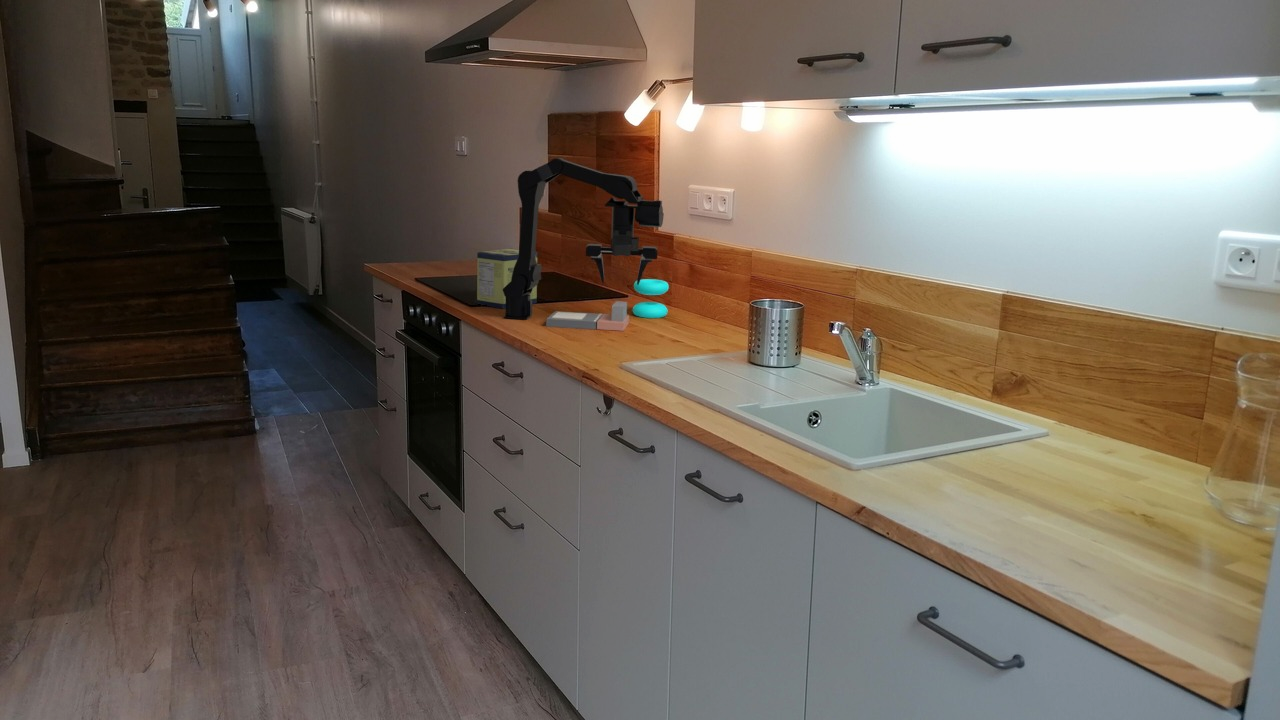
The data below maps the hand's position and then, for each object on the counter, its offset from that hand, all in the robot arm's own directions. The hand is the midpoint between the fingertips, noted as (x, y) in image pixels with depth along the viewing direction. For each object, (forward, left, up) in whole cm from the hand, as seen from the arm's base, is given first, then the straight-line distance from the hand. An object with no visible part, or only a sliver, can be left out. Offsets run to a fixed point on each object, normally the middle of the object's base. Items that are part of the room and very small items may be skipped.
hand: (620, 283), depth 248 cm
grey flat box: (-12, -1, -11) cm, 16 cm away
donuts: (+7, +18, -12) cm, 23 cm away
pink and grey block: (-1, -1, -11) cm, 11 cm away
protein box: (-36, +23, -12) cm, 45 cm away
